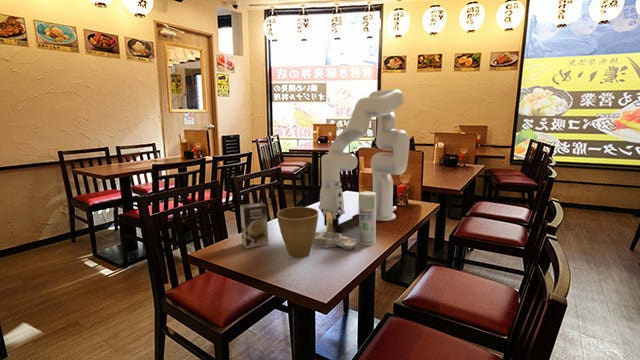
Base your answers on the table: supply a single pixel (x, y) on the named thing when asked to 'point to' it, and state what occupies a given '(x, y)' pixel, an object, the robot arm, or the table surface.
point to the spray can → (367, 217)
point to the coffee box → (254, 224)
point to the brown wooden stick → (348, 224)
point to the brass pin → (330, 221)
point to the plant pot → (298, 229)
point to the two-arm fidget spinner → (334, 240)
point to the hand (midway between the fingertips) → (331, 225)
